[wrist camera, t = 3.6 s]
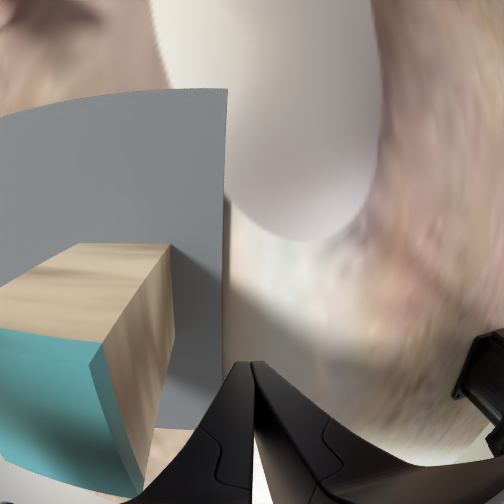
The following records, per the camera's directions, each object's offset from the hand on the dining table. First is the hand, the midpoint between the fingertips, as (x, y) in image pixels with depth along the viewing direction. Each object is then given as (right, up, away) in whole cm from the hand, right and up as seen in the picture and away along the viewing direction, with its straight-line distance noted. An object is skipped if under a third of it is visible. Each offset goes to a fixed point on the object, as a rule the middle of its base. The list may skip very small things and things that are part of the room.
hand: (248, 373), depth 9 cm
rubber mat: (-12, +2, +6) cm, 14 cm away
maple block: (-6, +2, +6) cm, 9 cm away
